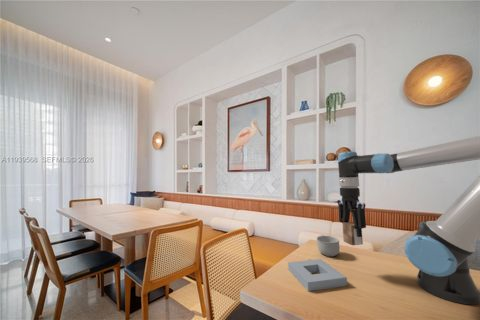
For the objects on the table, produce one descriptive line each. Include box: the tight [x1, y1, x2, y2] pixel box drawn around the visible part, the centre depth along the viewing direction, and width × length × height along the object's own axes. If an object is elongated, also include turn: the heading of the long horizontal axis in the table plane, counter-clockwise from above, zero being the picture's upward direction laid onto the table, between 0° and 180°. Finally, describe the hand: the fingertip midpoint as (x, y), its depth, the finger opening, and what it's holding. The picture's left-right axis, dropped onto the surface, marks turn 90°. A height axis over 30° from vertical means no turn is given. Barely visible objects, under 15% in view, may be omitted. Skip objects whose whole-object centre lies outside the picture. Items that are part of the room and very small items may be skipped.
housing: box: [287, 258, 348, 292], centre depth 78 cm, size 16×16×3 cm
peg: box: [341, 221, 364, 246], centre depth 82 cm, size 5×5×8 cm
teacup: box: [316, 234, 341, 257], centre depth 101 cm, size 14×11×8 cm
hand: (352, 241), depth 82 cm, fingers closed on peg, 5 cm apart
